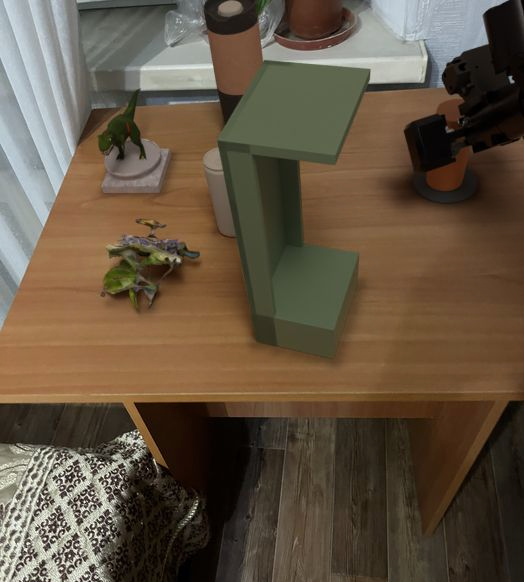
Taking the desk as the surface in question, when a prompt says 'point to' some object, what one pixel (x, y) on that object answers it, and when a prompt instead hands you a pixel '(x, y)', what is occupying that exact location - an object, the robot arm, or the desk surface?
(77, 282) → the desk surface
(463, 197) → the coaster
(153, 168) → the dinosaur figurine
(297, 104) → the green c-shaped stand
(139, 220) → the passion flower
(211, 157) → the beverage can
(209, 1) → the travel mug
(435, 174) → the tea tin
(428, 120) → the robot arm
